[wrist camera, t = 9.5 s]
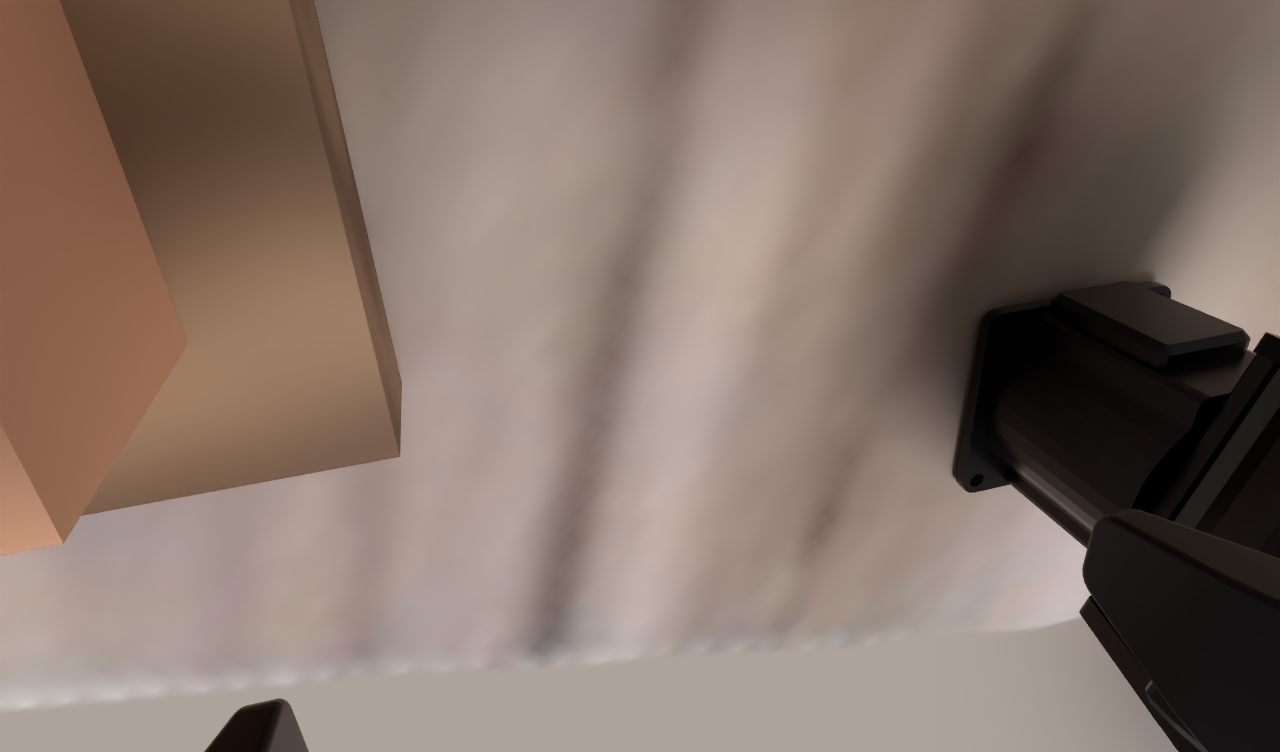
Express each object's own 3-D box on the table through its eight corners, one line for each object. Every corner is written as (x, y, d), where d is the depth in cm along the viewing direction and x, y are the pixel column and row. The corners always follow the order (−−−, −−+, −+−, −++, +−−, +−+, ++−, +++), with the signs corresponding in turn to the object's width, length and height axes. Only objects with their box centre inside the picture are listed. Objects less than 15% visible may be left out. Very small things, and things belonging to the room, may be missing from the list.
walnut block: (401, 375, 20) (399, 456, 17) (-136, 463, 18) (-268, 580, 14) (272, -190, 15) (229, -244, 11) (-540, -172, 12) (-916, -232, 9)
